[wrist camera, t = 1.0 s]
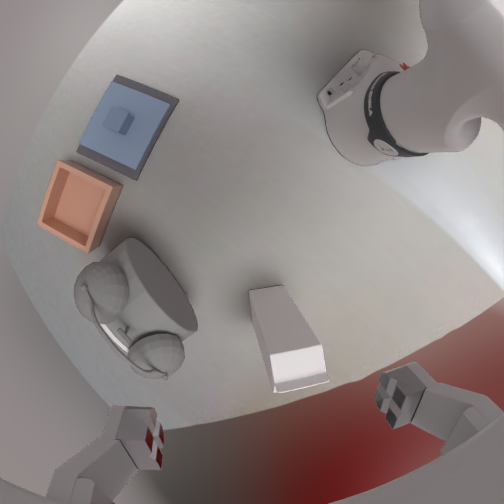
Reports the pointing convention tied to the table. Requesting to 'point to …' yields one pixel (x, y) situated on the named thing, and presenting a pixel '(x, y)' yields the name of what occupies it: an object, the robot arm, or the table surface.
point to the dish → (78, 205)
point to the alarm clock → (137, 308)
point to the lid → (124, 124)
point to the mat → (135, 173)
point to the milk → (286, 341)
